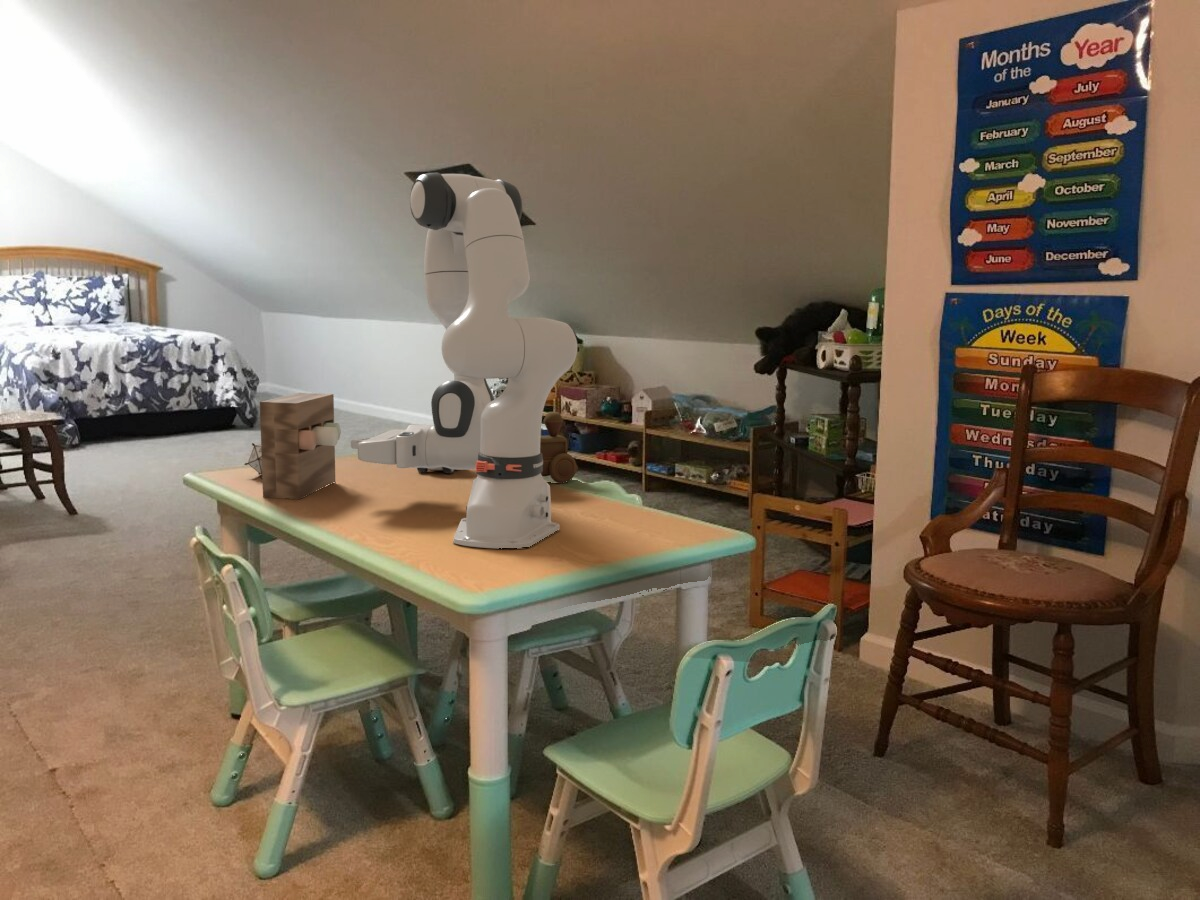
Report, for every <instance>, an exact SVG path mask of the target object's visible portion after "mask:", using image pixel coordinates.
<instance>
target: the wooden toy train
mask: <svg viewBox="0 0 1200 900" xmlns="http://www.w3.org/2000/svg"><path fill="white" fill-rule="evenodd" d="M542 420H543V424H544V425H545V428H546V430H547V432H548V435H541V439H540V452H541V453H542V459H543V471H542V472H541V475H542V477H549V476H550V478H551V479H552V480H553V482H556V483H557V484H564V483H563V482H566V481H568V482H569V481H571V480H572V479H573V478H574V476H575V475H576V473H578V472H579V466H578V465H577V463H576V459H575V458H574V457H573V456H572V455H571V454H570V453H568V451H569V450H568V448H569V445H568V444H569V443H568V438H567V437H565V436H562V435H560V434H559V435H558V433H559V432H560V429H561V427H562V425H563V424H564V423H563V422H564V419H563V417H562V415H561V414H560V412H559V411H548V412H547V414H546V415H545V416H544V419H542ZM566 483H567V482H566Z"/></svg>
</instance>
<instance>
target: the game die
mask: <svg viewBox="0 0 1200 900" xmlns="http://www.w3.org/2000/svg"><path fill="white" fill-rule="evenodd" d="M251 445H252V447H253V448H252V451H251V453H250V455H249V459H248V461H247V462H245V463H244V464H243V465H244V466H248V465H249V466H250V467H251V468H252V469H253V470H255V472H257V474H258V475H260V479H261V478H262V452H261V444H257V445H256V444H255V443H253V442H252V443H251Z"/></svg>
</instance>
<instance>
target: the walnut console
mask: <svg viewBox="0 0 1200 900" xmlns="http://www.w3.org/2000/svg"><path fill="white" fill-rule="evenodd" d="M334 397H335V396H334V394H333V393H313V392H312V393H309V392H297V393H292V394H289V395H283V396H279V397H275V398H271V399H265V400H263V401H259V415H260V416H259V419H260V422H259V423H260V445H261V452H262V479H261V480H262V481H261V482H262V497H263V498H268V497H275V498H274V499H285V498H289V500H300V498H301V499H303V498H305V497H307V496H306V495H308V494H310V493H312V494H314V493H316V492H317V491H316V490H318V489H320V488H322V487H325V486H326V485H328V484H331V483H333V482H335V483H336V449H335V448H336V445H335V446H325V445H316V447H315V449H314V450H303V449H299V434H298V430H308V431H311V426H319V427H324V424H323V422H325V423H335V405H334V404H335V403H334V402H335V401H334ZM331 485H332V484H331ZM325 488H326V487H325ZM315 491H316V492H315ZM318 491H319V490H318ZM313 492H314V493H313ZM310 495H311V494H310ZM304 496H305V497H304ZM308 496H309V495H308ZM302 497H303V498H302Z"/></svg>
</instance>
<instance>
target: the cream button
mask: <svg viewBox="0 0 1200 900" xmlns="http://www.w3.org/2000/svg"><path fill="white" fill-rule="evenodd" d="M311 431H315V433H316V435H317V444H316V445H325V446H335V447H336V445H337V443H338V441H339V440H338V430H337V428H336V427H319V426H311Z"/></svg>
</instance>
